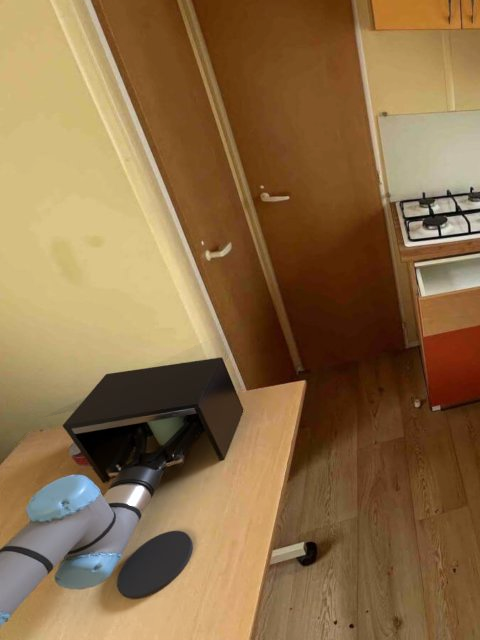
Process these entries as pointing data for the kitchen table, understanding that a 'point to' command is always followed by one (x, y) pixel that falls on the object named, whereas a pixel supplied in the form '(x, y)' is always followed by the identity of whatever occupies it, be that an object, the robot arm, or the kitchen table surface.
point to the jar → (165, 428)
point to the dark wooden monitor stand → (154, 407)
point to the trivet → (155, 564)
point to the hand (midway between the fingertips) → (179, 407)
